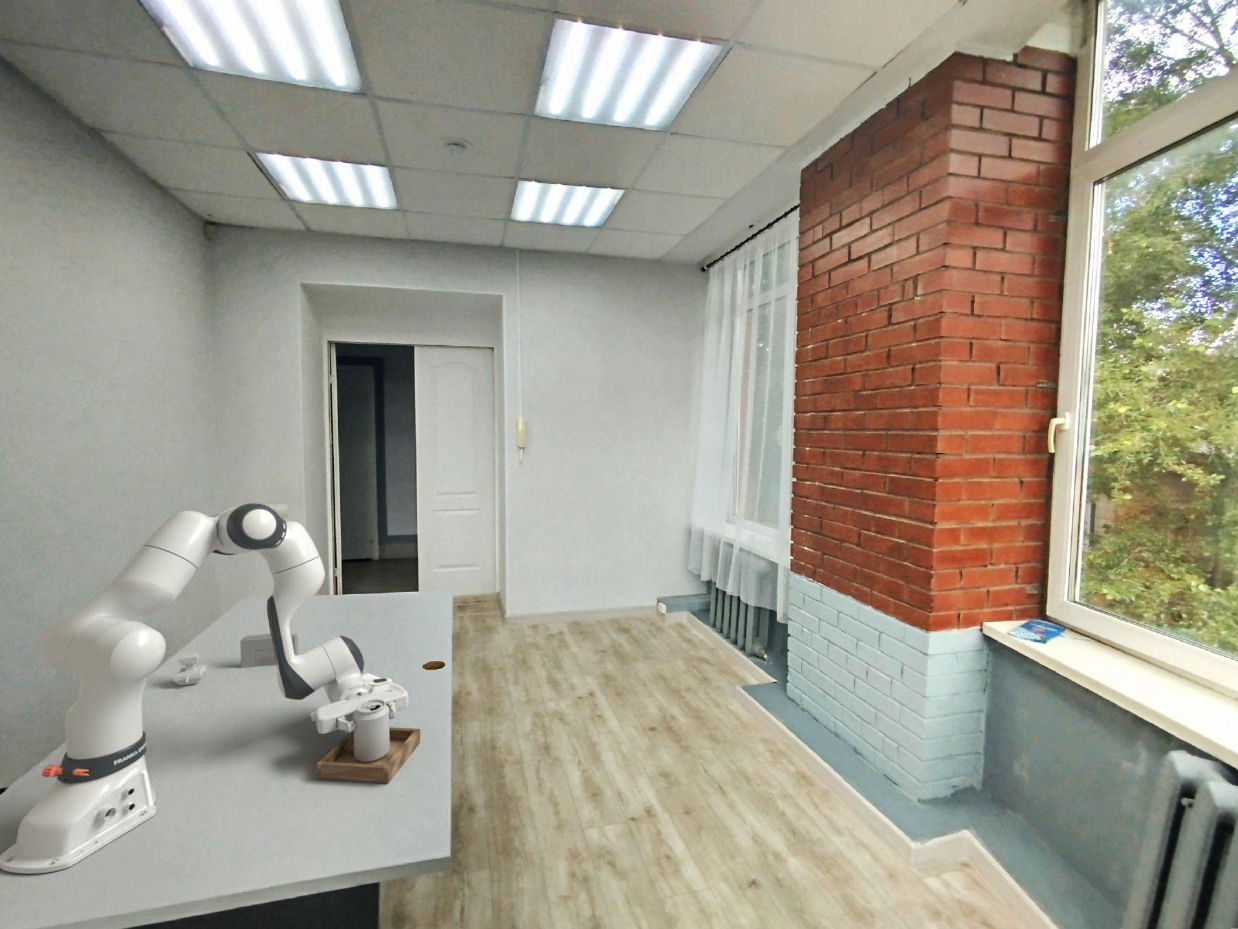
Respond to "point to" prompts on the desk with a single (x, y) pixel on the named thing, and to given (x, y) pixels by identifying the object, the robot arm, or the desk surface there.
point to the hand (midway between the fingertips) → (373, 721)
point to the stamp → (189, 670)
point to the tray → (348, 768)
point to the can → (371, 731)
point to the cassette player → (261, 650)
